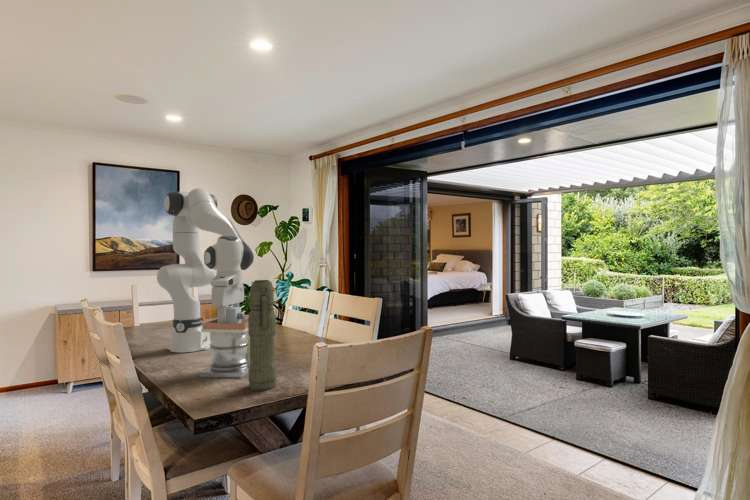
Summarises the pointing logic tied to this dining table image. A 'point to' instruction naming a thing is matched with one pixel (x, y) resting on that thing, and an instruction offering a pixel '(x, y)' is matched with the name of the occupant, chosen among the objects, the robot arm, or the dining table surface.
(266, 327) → the thermos
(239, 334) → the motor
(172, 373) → the dining table surface
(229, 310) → the pale grey rectangular block
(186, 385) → the dining table surface
